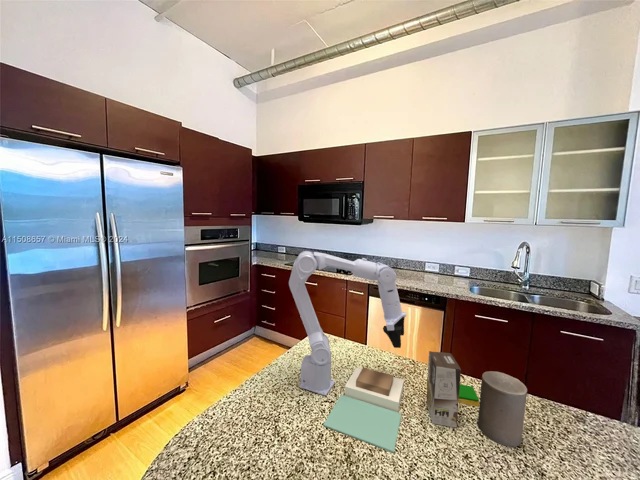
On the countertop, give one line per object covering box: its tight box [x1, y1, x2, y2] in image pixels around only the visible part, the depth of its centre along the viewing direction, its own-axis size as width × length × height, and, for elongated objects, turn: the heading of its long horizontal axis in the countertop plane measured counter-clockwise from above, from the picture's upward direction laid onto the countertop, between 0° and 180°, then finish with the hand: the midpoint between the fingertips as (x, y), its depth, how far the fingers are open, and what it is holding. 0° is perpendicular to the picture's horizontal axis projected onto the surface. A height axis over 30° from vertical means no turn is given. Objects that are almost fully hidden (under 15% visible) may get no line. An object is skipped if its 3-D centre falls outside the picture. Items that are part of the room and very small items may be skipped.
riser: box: [344, 367, 405, 413], centre depth 83 cm, size 16×12×3 cm
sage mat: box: [322, 394, 403, 454], centre depth 71 cm, size 18×14×1 cm
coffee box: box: [426, 351, 462, 428], centre depth 74 cm, size 9×6×16 cm
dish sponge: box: [426, 378, 480, 407], centre depth 83 cm, size 7×14×2 cm, turn 74°
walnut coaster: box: [356, 367, 394, 396], centre depth 83 cm, size 10×8×2 cm
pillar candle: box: [477, 370, 528, 448], centre depth 68 cm, size 10×10×15 cm
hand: (399, 340), depth 86 cm, fingers open, 7 cm apart
